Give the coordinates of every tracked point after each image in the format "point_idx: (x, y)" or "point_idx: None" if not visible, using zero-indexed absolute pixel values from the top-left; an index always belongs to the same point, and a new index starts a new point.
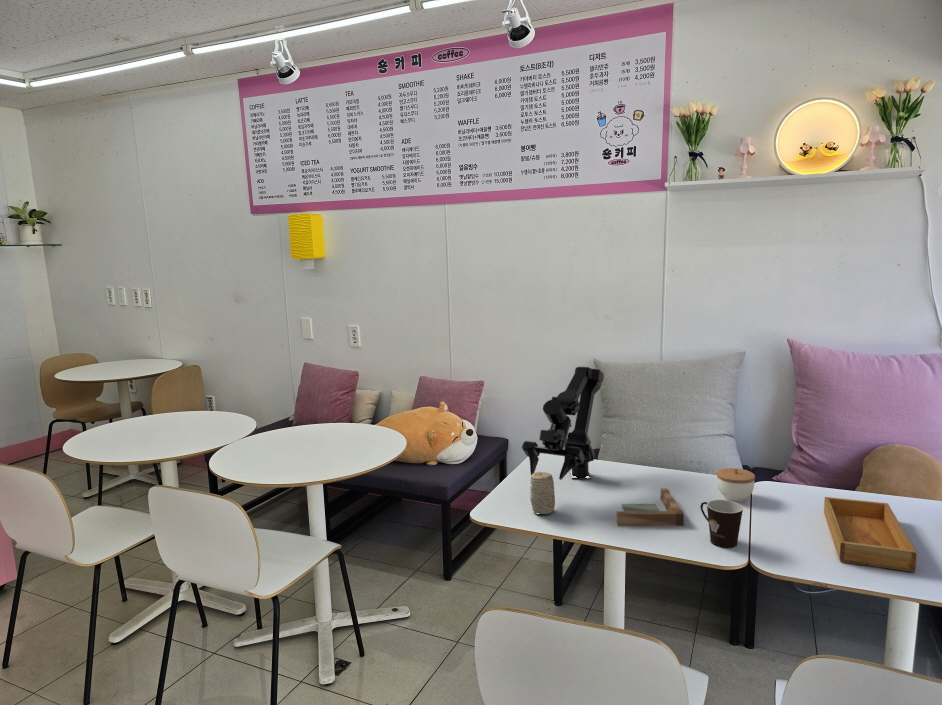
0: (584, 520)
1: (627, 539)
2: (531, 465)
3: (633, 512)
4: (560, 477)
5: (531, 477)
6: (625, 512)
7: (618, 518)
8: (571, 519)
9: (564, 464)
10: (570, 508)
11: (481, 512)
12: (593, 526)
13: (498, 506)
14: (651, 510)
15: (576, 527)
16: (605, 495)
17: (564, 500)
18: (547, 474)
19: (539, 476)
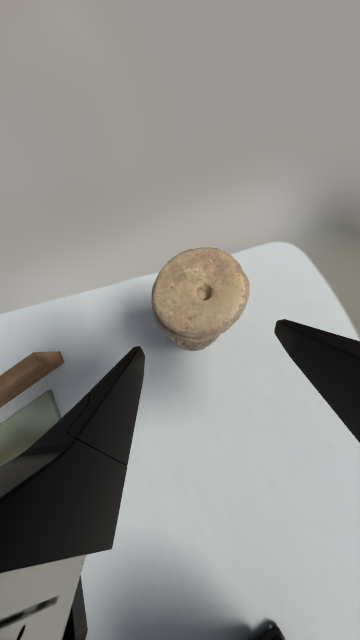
0: (115, 339)
1: (39, 317)
2: (336, 340)
3: (7, 379)
4: (132, 348)
5: (227, 253)
6: (21, 370)
7: (42, 352)
8: (136, 329)
9: (82, 413)
10: (161, 376)
11: (298, 255)
12: (94, 327)
13: (295, 296)
14: (12, 456)
15: (116, 307)
16: (124, 507)
17: (194, 412)
18: (172, 302)
19: (189, 259)
